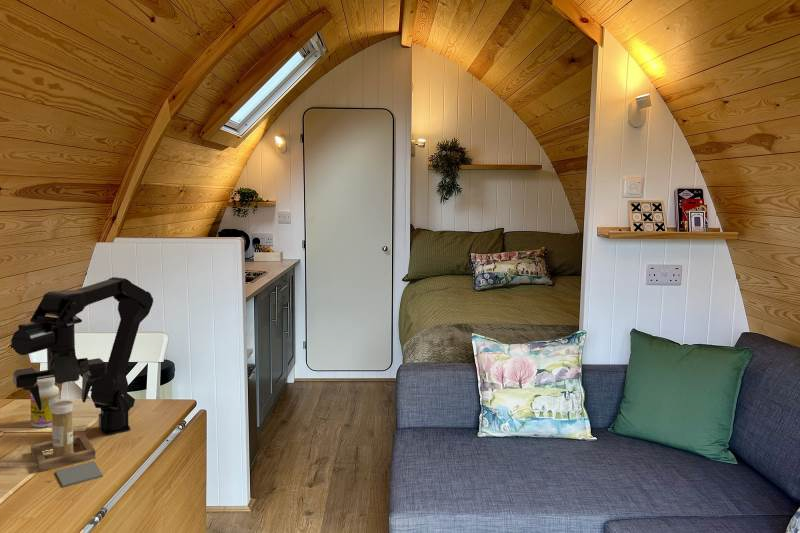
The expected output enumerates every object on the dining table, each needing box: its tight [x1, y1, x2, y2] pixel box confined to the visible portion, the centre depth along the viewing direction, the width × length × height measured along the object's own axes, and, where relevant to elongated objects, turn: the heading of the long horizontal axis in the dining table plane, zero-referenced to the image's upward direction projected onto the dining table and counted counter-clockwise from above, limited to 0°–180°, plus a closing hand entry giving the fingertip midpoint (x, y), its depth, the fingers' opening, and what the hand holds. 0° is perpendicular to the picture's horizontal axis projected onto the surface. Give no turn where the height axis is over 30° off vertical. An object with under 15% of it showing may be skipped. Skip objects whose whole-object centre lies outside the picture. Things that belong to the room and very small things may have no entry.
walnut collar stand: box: [30, 433, 96, 473], centre depth 134 cm, size 12×12×2 cm
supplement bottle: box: [29, 377, 60, 428], centre depth 150 cm, size 7×7×13 cm
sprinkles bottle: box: [51, 400, 75, 458], centre depth 133 cm, size 5×5×13 cm
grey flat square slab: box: [55, 460, 104, 488], centre depth 126 cm, size 8×8×1 cm
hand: (62, 406), depth 133 cm, fingers open, 9 cm apart
